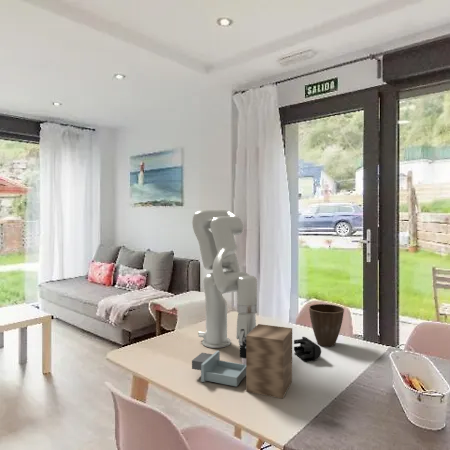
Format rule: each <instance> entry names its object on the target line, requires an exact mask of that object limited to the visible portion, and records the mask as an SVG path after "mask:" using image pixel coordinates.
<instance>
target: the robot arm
mask: <svg viewBox="0 0 450 450" xmlns="http://www.w3.org/2000/svg"><path fill="white" fill-rule="evenodd" d="M191 223H192V229H193V232H194V233H193V234H194V235H195V237H196V240H197V242H198V245H199V252H200V256H201V262H202V265H203V267H204V269H205V270H207V271H212V272H210V273H208V274H206V275H205V276H204V277H203V281H202V282H203V283H202V284H203V290H204V296H205V331H202V330H201V331H198V333H197V335H198V336H197V337H198V338H203V339H202V340H201V341H202V342H201V343H202V346H205V347H207V348H211V349H221V348H225V347H229V345H231V341H232V340H231V338H229V337H228V303H227V300H226V299H225V297H224V296H223V294H228V293H231V294H232V293H236V292H237V293H236V294H237V295H236V297H237V298H236V299H237V301H236V302H237V307H236V310H237V311H236V312H237V319H236V334H235V335H236V339H237V340H238V343H239V346H238V347H239V358H241V359H242V358H246V343H244V342H243V341H246V339H244V338H246V335H247V334H248V333H249V332H251V331H252V330H253V329H254V328H255V327H256V326H257V319H256V314H257V313H258V280H257V277H256V276H254V275H250V274H248V272H245V271H241V270H240V266H239V260H238V257H237V254H236V251H237V250H238V245H237V242H236V238H235V236H239V235H241V234H243V231H244V223H243V221H242V219H241V218H240V217H239V216H238V215H237V214H235V213H233V212H231V211H229V210H227V209H226V210H225V209H204V210H202V209H201V210H198V211H196V212H195V213H194V214H193V216H192V222H191Z"/></svg>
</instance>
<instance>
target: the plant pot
mask: <svg viewBox="0 0 450 450" xmlns="http://www.w3.org/2000/svg"><path fill="white" fill-rule="evenodd" d="M308 310H309V317H310V322H311V327H312V330H313V333H314V334H313V335H314V337H315V340H316V344H317V345H318V346H321V347H326V348H327V347H329V348H330V347H334V346H335V345H336V342H337V340H338V337H339V335H340V332H341V329H342V325H343V324H342V323H343V320H344V319H343V317H344V312H345V308H343V307H342V306H340V305H334V304H327V303H317V304H312V305H309V307H308Z"/></svg>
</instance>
